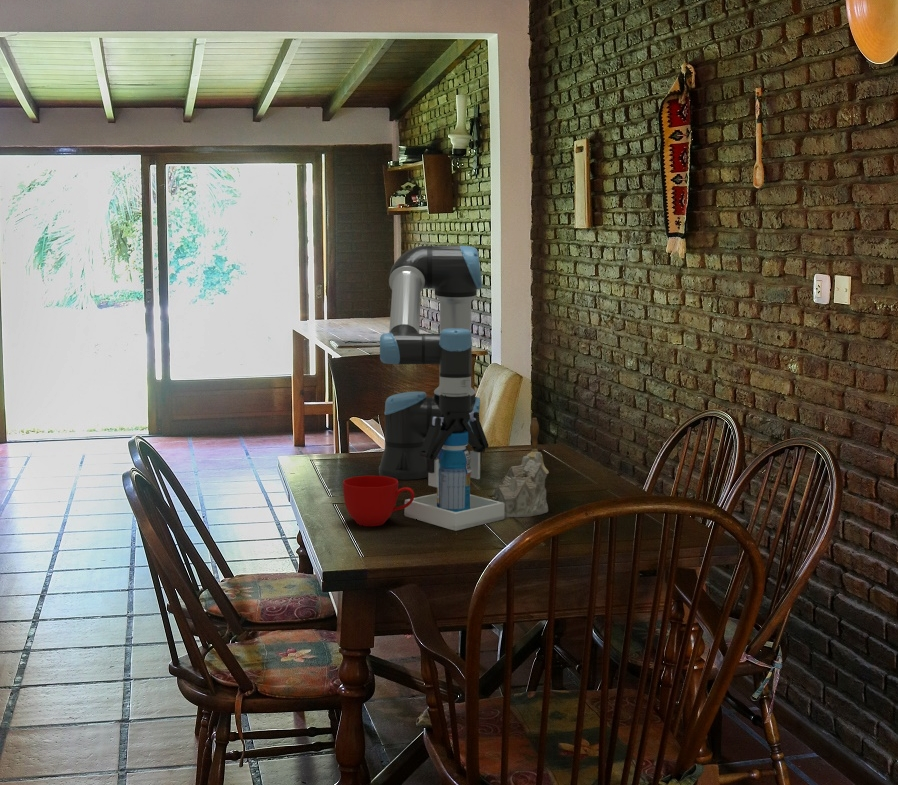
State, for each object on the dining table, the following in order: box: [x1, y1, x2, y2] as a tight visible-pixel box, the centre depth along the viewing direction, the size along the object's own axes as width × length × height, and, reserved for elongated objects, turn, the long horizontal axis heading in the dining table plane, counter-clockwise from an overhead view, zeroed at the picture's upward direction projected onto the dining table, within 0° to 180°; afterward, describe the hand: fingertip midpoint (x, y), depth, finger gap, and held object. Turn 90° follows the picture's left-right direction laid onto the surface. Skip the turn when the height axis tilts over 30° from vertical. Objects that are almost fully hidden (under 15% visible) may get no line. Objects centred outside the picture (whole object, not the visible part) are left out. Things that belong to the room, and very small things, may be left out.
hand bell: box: [526, 417, 550, 475], centre depth 317 cm, size 8×8×16 cm
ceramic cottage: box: [492, 451, 549, 519], centre depth 273 cm, size 16×16×15 cm
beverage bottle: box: [436, 430, 471, 512], centre depth 264 cm, size 8×8×20 cm
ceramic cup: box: [342, 475, 415, 527], centre depth 259 cm, size 13×17×10 cm
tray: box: [404, 492, 505, 531], centre depth 265 cm, size 18×16×4 cm
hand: (454, 482), depth 264 cm, fingers open, 13 cm apart
